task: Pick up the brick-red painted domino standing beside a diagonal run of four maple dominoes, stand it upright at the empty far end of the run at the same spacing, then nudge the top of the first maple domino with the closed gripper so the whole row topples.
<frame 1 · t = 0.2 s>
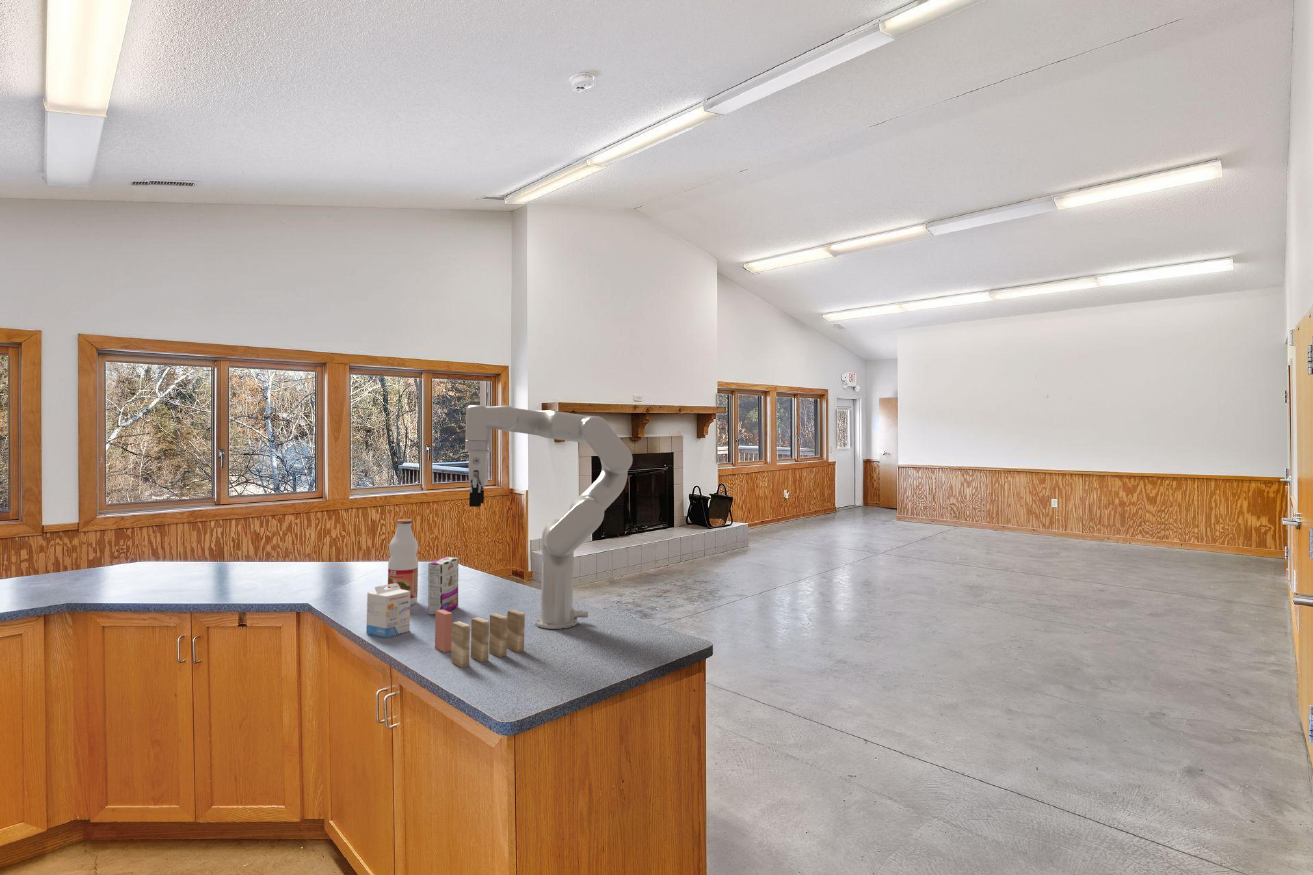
hand: (476, 504, 199), 36 cm above the countertop, tool pointing down, fingers open, 9 cm apart
domino 3: (479, 658, 172), on the countertop
candy bar box: (442, 611, 217), on the countertop
domino 4: (460, 663, 168), on the countertop
fruit juice: (402, 604, 225), on the countertop
domino 1: (515, 649, 180), on the countertop
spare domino: (443, 649, 179), on the countertop
domino 2: (497, 654, 176), on the countertop
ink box: (388, 632, 193), on the countertop
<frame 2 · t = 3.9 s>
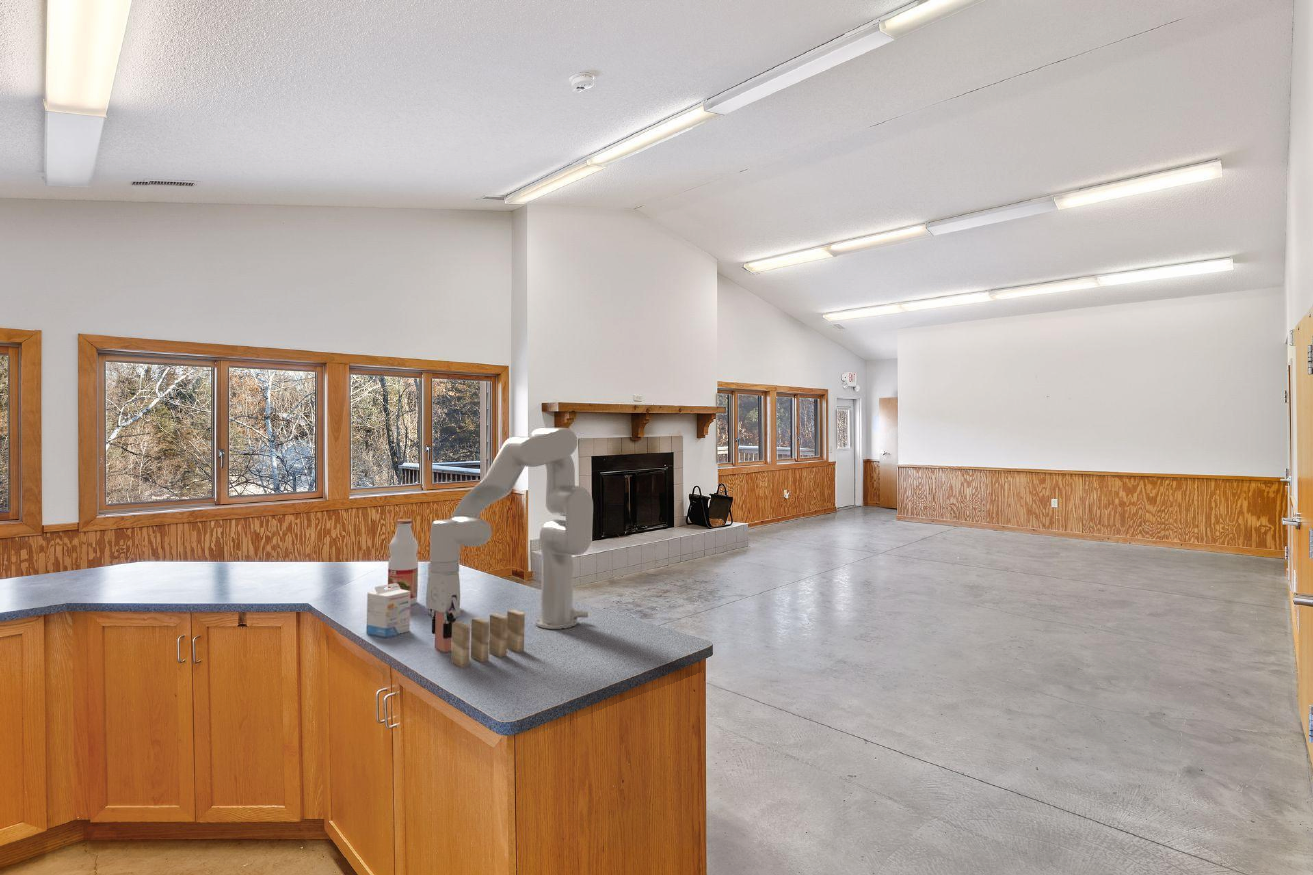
hand: (443, 634, 179), 4 cm above the countertop, tool pointing down, fingers closed on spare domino, 4 cm apart
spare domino: (442, 649, 179), on the countertop, touching gripper
everything else where it was.
when the fingers open (5 cm above the countertop, at t = 10.3 s): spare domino stays where it is, on the countertop.
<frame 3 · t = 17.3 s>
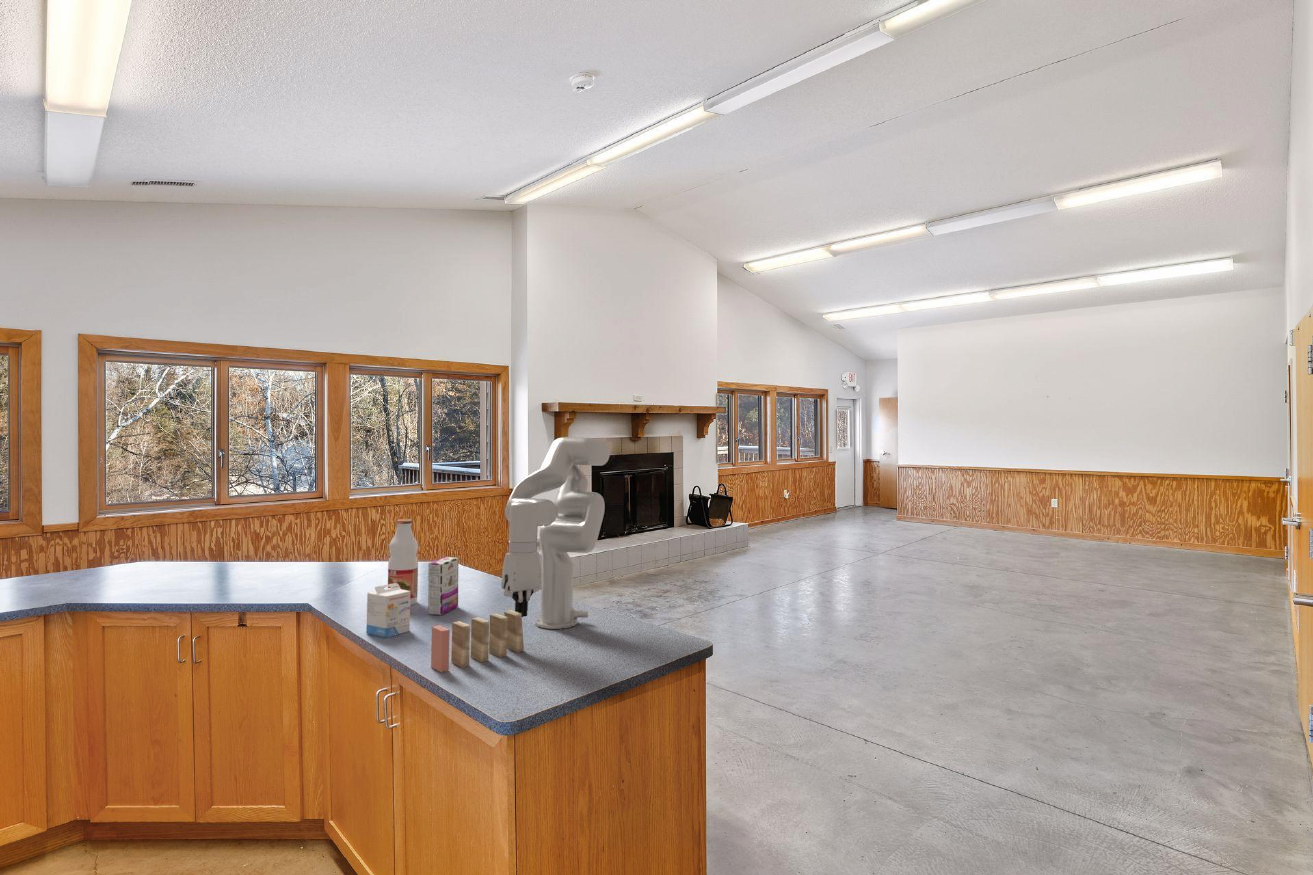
hand: (521, 615, 181), 9 cm above the countertop, tool pointing down, fingers closed
domino 1: (515, 649, 180), on the countertop, tilted 6°
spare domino: (439, 669, 164), on the countertop
everything else where it was.
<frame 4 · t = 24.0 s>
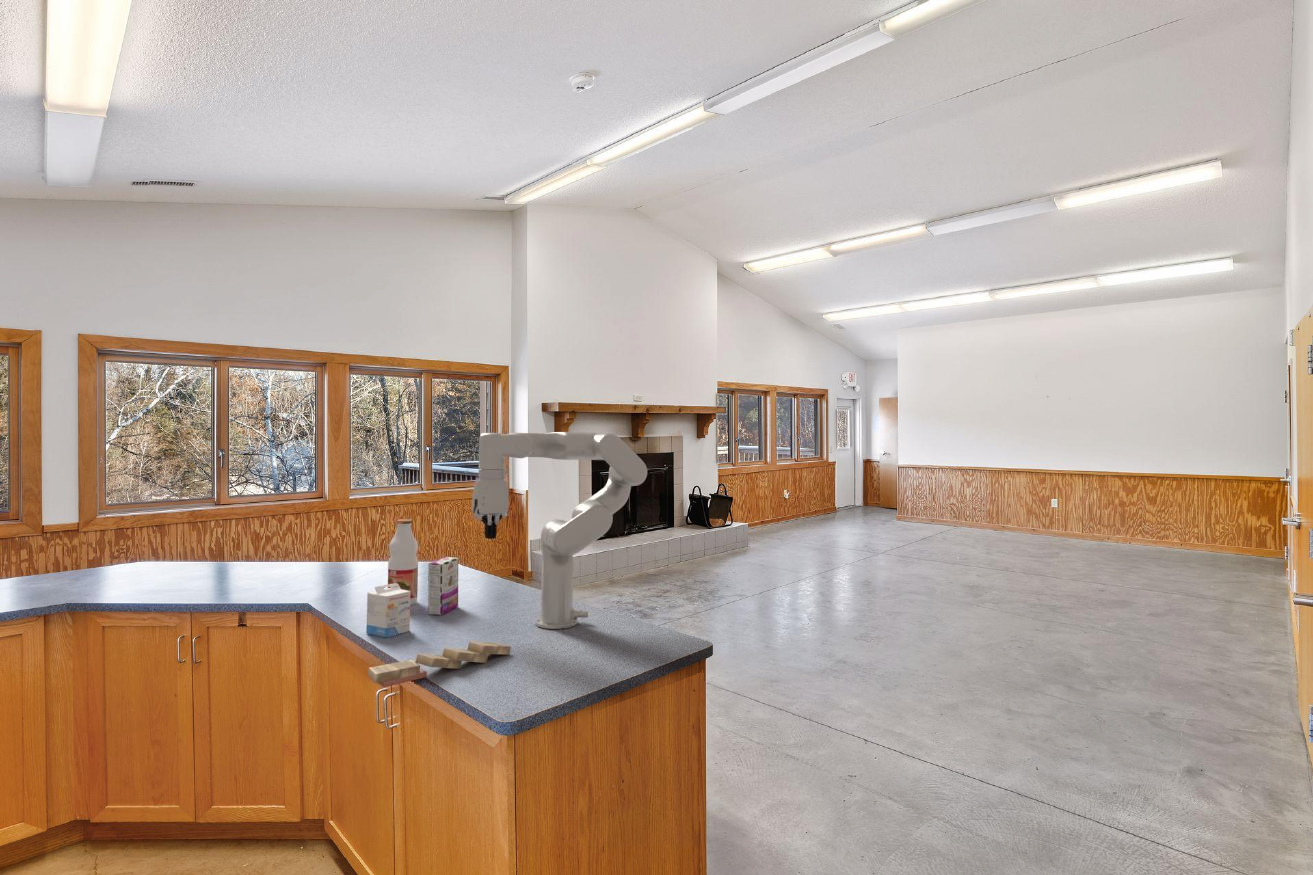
hand: (490, 538, 196), 27 cm above the countertop, tool pointing down, fingers closed
domino 3: (453, 662, 166), point 1 cm above the countertop, tilted 72°, touching domino 2
domino 4: (416, 666, 159), point 2 cm above the countertop, tilted 90°
domino 1: (503, 648, 178), point 1 cm above the countertop, tilted 75°, touching domino 2
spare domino: (421, 673, 160), on the countertop, tilted 90°
domino 2: (480, 656, 171), point 1 cm above the countertop, tilted 72°, touching domino 1, domino 3
everything else where it was.
at the end: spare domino tilted 90°; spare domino inside the target area (3.4 cm from its centre), on the countertop; domino 4 tilted 90° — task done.
